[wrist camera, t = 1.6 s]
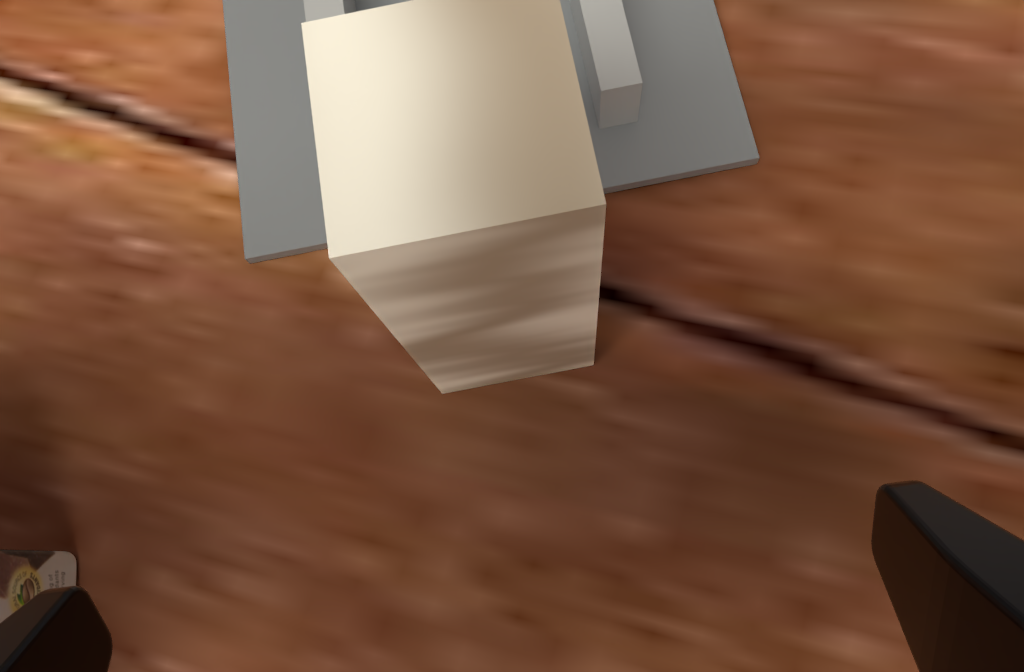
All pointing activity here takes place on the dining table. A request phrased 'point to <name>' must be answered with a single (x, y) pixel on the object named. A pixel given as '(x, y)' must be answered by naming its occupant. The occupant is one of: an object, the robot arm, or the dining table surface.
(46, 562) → the coffee box
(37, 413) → the dining table surface
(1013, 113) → the dining table surface
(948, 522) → the robot arm
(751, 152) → the keeper bracket
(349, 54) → the link block
